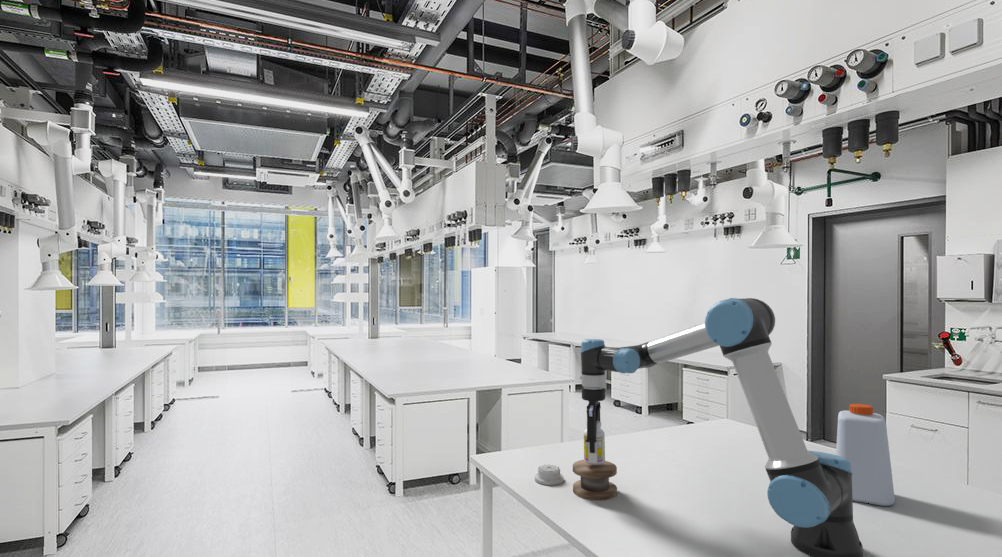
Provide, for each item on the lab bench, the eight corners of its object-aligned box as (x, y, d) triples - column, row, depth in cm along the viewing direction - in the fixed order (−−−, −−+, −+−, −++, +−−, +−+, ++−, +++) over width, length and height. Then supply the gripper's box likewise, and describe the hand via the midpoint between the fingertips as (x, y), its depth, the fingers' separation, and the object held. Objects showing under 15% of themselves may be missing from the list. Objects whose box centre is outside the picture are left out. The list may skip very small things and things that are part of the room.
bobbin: (624, 497, 159) (624, 471, 159) (581, 501, 156) (581, 475, 157) (606, 481, 173) (606, 457, 173) (567, 485, 170) (566, 460, 170)
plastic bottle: (892, 493, 161) (889, 403, 162) (896, 510, 149) (892, 413, 149) (835, 483, 170) (832, 398, 170) (834, 498, 157) (831, 407, 158)
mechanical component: (540, 473, 182) (530, 483, 173) (540, 461, 182) (530, 470, 173) (567, 477, 178) (558, 487, 169) (567, 465, 178) (557, 474, 169)
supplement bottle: (590, 457, 170) (590, 418, 170) (608, 461, 165) (608, 421, 166) (580, 462, 164) (579, 422, 165) (598, 466, 160) (598, 425, 161)
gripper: (586, 381, 176) (587, 449, 175) (576, 392, 158) (577, 467, 157) (608, 382, 174) (609, 451, 173) (601, 393, 155) (602, 470, 154)
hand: (594, 458), depth 165 cm, fingers closed on supplement bottle, 7 cm apart
